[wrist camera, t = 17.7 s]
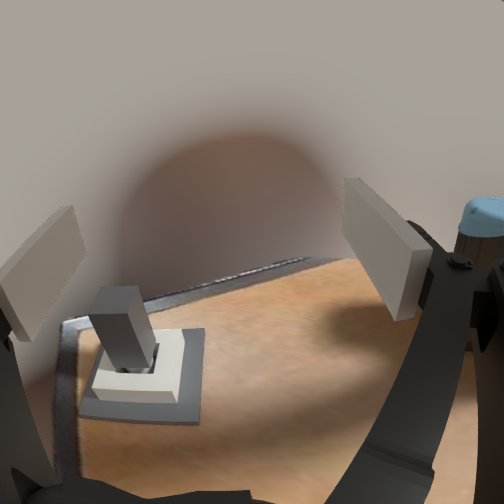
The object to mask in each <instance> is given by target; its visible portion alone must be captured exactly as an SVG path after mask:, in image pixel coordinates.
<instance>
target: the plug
mask: <svg viewBox="0 0 504 504" xmlns="http://www.w3.org/2000/svg"><path fill="white" fill-rule="evenodd" d="M88 316H89V319H90V321H91V323H92V325H93V327H94V329H95V331H96V333H97V335H98V337H99V339H100V341H101V343H102V345H103V347H104V349H105V351H106V353H107V355H108V357H109V359H110V361H111V363H112V365H113V366H114V368H127V370H128V372H129V373H135V374H154V369H155V362H154V359H153V357H152V356H153V352H154V347H155V343H156V338H155V335H154V333H153V330H152V327H151V324H150V321H149V318H148V315H147V313H146V310H145V307H144V304H143V300H142V297H141V294H140V291H139V288H138V286H137V285H135V286H120V287H103V288H100V290H99V292H98V294H97V296H96V298H95V300H94V302H93V304H92V306H91V308H90V311H89V312H88Z"/></svg>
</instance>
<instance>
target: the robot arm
mask: <svg viewBox="0 0 504 504" xmlns="http://www.w3.org/2000/svg"><path fill="white" fill-rule="evenodd" d="M502 1H504V0H502ZM458 229H459V232H458V236H457V240H456V244H455V248H454V252H453V253H447V252H446V251H445V250H444V249H443V248H442V247H441V246H440V245H439V244H438V243H437V242H436V241H435V240H434V239H432V237H431V236H430V235H429V234H427V233H426V231H425V230H424V229H423V228H422V227H421V226H419V225H417V224H416V223H414V222H412V221H410V220H409V221H406V220H404V219H403V218H402V217H401V216H400V215H399V214H398V213H397V212H396V211H395V210H394V209H393V208H392V207H391V206H390V205H389V204H388V203H387V202H385V201H384V200H383V199H382V198H381V197H380V196H379V195H378V194H377V193H376V192H375V191H373V190H372V189H371V188H370V187H369V186H368V185H367V184H366V183H365V182H364V181H362V180H361V179H360V178H344V193H343V212H342V227H341V232H342V233H343V235H344V237H345V238H346V240H347V241H348V243H349V244H350V246H351V248H352V249H353V251H354V252H355V254H356V256H357V257H358V259H359V261H360V262H361V264H362V266H363V267H364V269H365V271H366V272H367V274H368V276H369V277H370V279H371V281H372V282H373V284H374V286H375V287H376V289H377V291H378V293H379V294H380V296H381V298H382V300H383V301H384V303H385V305H386V307H387V308H388V310H389V312H390V314H391V315H392V317H393V319H394V321H395V322H396V321H402V320H407V319H413V318H414V316H415V313H416V310H417V307H418V304H419V306H420V307H421V309H422V310H423V312H422V315H421V318H420V321H419V324H418V326H417V329H416V332H415V334H414V337H413V340H412V342H411V345H410V347H409V350H408V352H407V355H406V357H405V359H404V362H403V364H402V366H401V369H400V371H399V373H398V375H397V378H396V380H395V382H394V384H393V386H392V389H391V391H390V393H389V395H388V397H387V399H386V401H385V403H384V405H383V407H382V409H381V411H380V413H379V415H378V417H377V419H376V421H375V423H374V425H373V427H372V428H371V430H370V432H369V434H368V436H367V437H366V439H365V441H364V443H363V444H362V446H361V447H360V449H359V451H358V452H357V454H356V456H355V457H354V459H353V461H352V462H351V464H350V465H349V467H348V469H347V470H346V472H345V473H344V475H343V476H342V478H341V480H340V481H339V483H338V484H337V486H336V487H335V489H334V490H333V492H332V493H331V495H330V496H329V497H328V499H327V500H326V502H325V503H324V504H424V502H425V499H426V497H427V495H428V493H429V490H430V488H431V485H432V482H433V479H434V473H435V471H434V470H433V469H432V463H433V460H434V458H435V455H436V452H437V450H438V447H439V444H440V441H441V438H442V435H443V433H444V430H445V426H446V423H447V420H448V417H449V414H450V410H451V407H452V403H453V400H454V396H455V392H456V389H457V385H458V381H459V376H460V372H461V368H462V363H463V358H464V353H465V350H466V351H473V353H474V361H475V372H476V384H477V402H478V456H477V472H476V484H475V494H474V502H473V504H504V198H500V197H489V196H486V197H477V198H474V199H472V200H471V201H469V202H468V203H467V204H466V206H465V208H464V212H463V216H462V219H461V222H460V224H459V226H458ZM86 254H87V251H86V248H85V245H84V242H83V239H82V235H81V232H80V229H79V226H78V222H77V219H76V215H75V212H74V208H73V205H70V206H65V207H60V209H58V210H57V211H56V212H55V213H54V214H53V215H52V216H51V217H50V218H49V219H48V220H47V221H46V222H44V223H43V224H42V225H41V226H40V227H39V228H38V229H37V230H36V231H35V232H34V233H33V234H32V235H31V236H30V237H29V238H28V239H27V240H26V241H25V242H24V243H23V244H22V245H21V247H20V248H19V249H18V250H17V251H16V252H15V253H14V254H13V255H12V256H11V257H10V258H9V260H8V261H7V262H6V263H5V264H4V265H3V266H2V267H1V268H0V504H274V503H270V502H266V501H262V500H256V499H252V496H251V493H250V490H241V491H195V492H190V493H185V494H179V495H173V496H167V497H160V498H153V499H145V498H141V497H139V496H136V495H133V494H131V493H128V492H126V491H123V490H121V489H119V488H116V487H114V486H111V485H109V484H107V483H105V482H103V481H98V480H93V479H88V478H83V477H78V476H74V475H70V474H66V473H64V477H63V482H62V483H61V482H60V481H59V480H58V478H57V477H56V475H55V473H54V471H53V469H52V467H51V464H50V462H49V460H48V457H47V455H46V452H45V450H44V448H43V445H42V442H41V440H40V437H39V435H38V432H37V429H36V426H35V423H34V421H33V418H32V415H31V412H30V408H29V405H28V402H27V399H26V395H25V392H24V388H23V385H22V381H21V377H20V373H19V369H18V365H17V361H16V357H15V352H14V347H13V343H12V341H11V340H10V338H9V337H8V335H9V334H10V332H11V331H12V330H13V332H14V334H15V335H16V337H17V339H18V340H19V341H23V342H33V340H34V338H35V336H36V334H37V333H38V331H39V329H40V327H41V326H42V324H43V322H44V320H45V318H46V317H47V315H48V314H49V312H50V310H51V308H52V307H53V305H54V303H55V302H56V300H57V299H58V297H59V295H60V294H61V292H62V290H63V289H64V287H65V286H66V284H67V283H68V281H69V280H70V278H71V276H72V275H73V273H74V272H75V270H76V269H77V267H78V266H79V264H80V263H81V261H82V260H83V258H84V257H85V256H86Z"/></svg>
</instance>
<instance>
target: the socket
mask: <svg viewBox="0 0 504 504" xmlns="http://www.w3.org/2000/svg"><path fill="white" fill-rule="evenodd" d="M153 333H154V335H155V338H156V343H155V347H154V352H153V356H152V357H153V359H154V362H155V369H154V374H135V373H129V372H128V370H127V368H114V366H113V365H112V363H111V361H110V359H109V357H108V355H107V353H106V351H105V349H104V347H103V345H101V348H100V350H99V353H98V356H97V359H96V361H95V364H94V367H93V370H92V373H91V376H90V379H89V382H88V385H87V388H86V391H85V394H84V397H83V400H82V403H81V406H80V409H79V413H78V415H79V416H80V417H81V418H87V419H95V420H103V421H113V422H125V423H139V424H159V425H199V423H200V403H201V386H202V370H203V355H204V341H205V329H204V328H196V329H156V330H153Z"/></svg>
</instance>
